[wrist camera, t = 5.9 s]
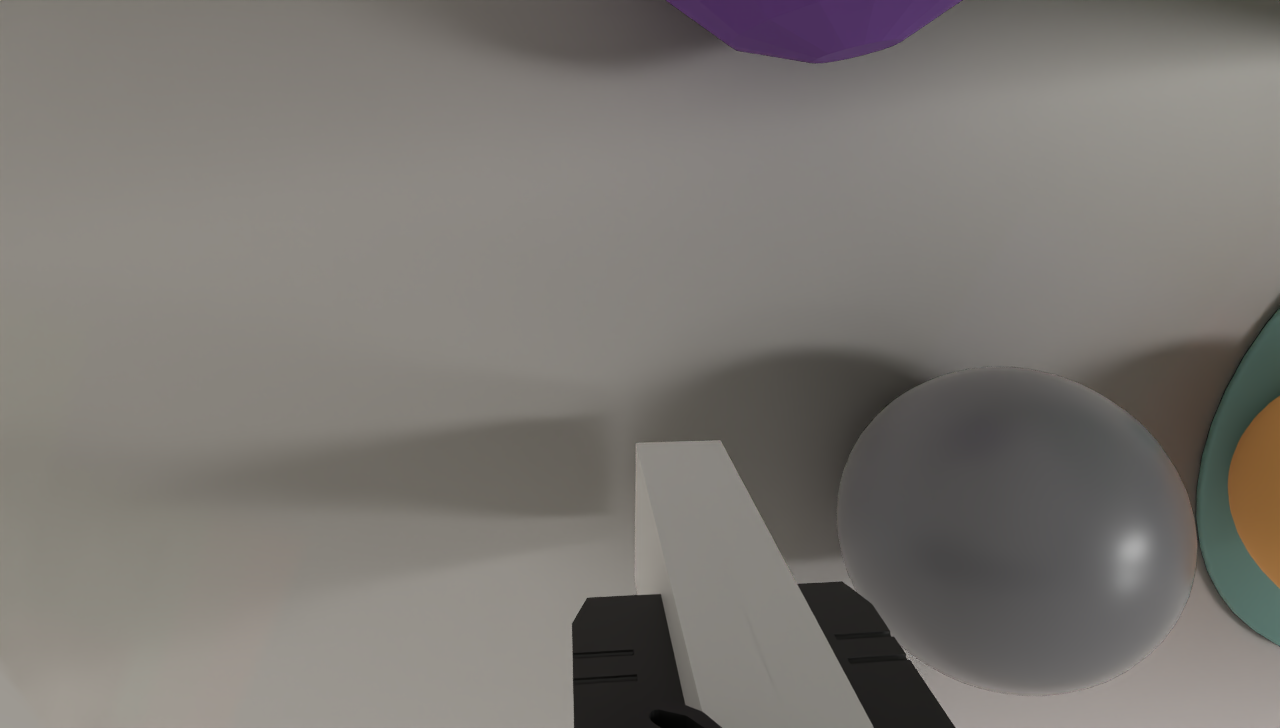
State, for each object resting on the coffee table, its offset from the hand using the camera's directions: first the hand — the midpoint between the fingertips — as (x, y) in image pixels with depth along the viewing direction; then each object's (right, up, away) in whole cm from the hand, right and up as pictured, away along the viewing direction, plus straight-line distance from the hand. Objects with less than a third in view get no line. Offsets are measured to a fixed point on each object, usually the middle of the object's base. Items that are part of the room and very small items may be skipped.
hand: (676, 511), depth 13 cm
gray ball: (+6, 0, 0) cm, 6 cm away
